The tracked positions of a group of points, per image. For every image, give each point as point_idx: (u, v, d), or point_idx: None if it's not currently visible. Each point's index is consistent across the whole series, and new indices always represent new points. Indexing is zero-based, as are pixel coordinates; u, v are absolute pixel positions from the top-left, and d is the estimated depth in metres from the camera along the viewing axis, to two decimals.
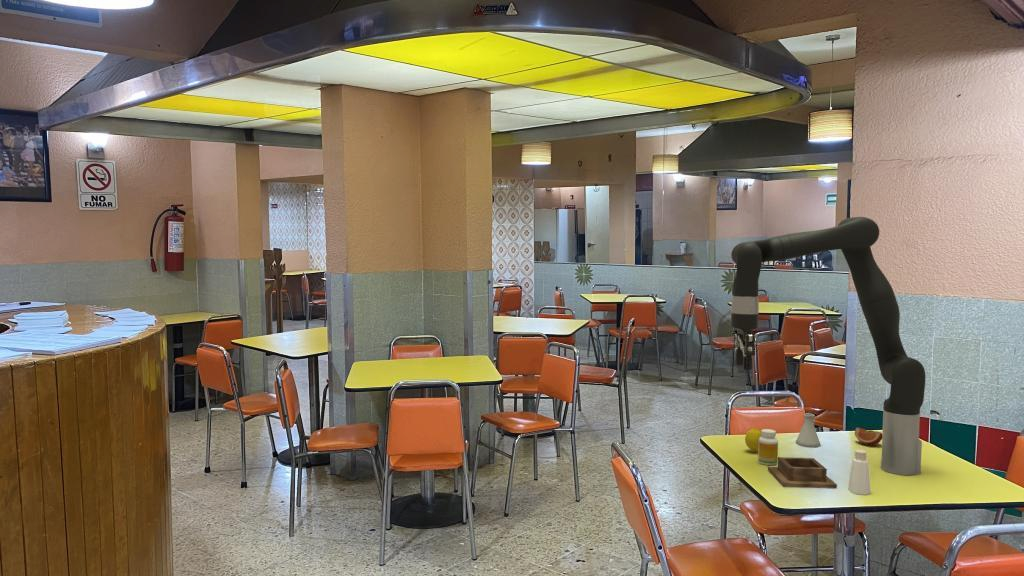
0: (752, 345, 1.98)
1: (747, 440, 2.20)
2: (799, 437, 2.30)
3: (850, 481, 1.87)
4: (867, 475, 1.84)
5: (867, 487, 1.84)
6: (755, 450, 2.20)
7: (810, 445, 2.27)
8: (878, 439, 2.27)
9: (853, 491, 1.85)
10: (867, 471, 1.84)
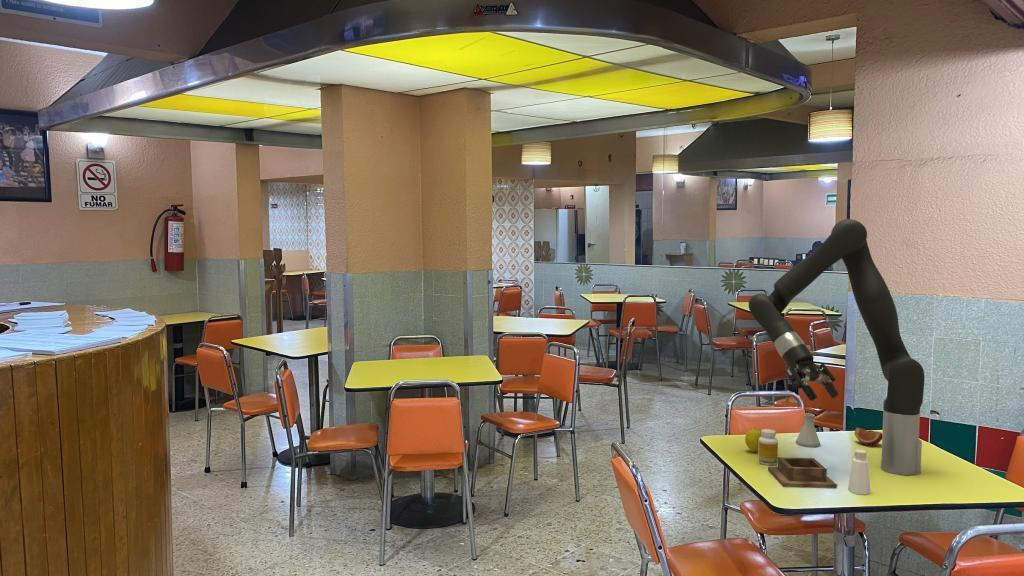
0: (793, 376, 1.96)
1: (747, 440, 2.20)
2: (799, 437, 2.30)
3: (850, 481, 1.87)
4: (867, 475, 1.84)
5: (867, 487, 1.84)
6: (755, 450, 2.20)
7: (810, 445, 2.27)
8: (878, 439, 2.27)
9: (853, 491, 1.85)
10: (867, 471, 1.84)
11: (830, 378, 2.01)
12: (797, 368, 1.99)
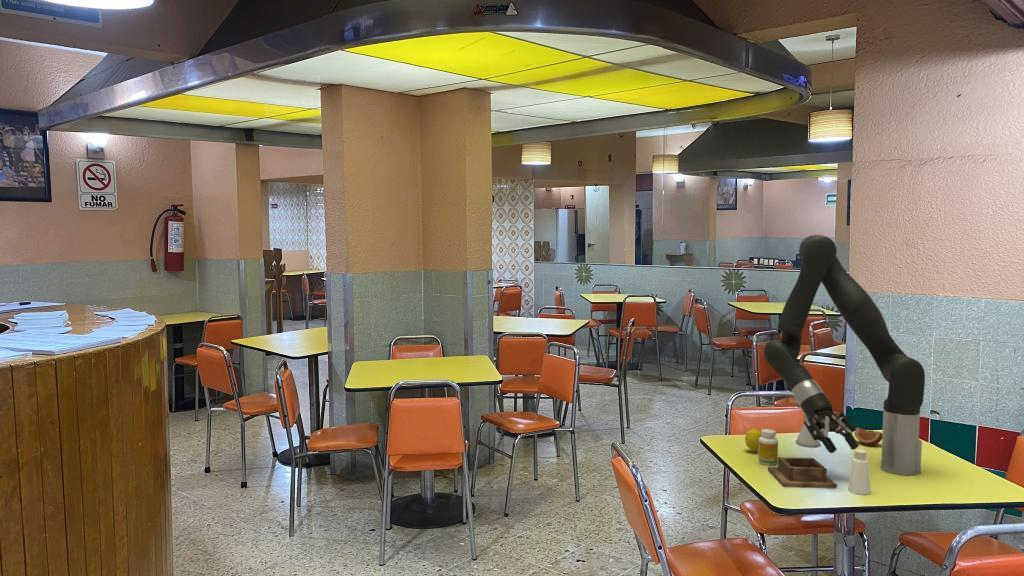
0: (812, 427, 1.91)
1: (747, 440, 2.20)
2: (799, 437, 2.30)
3: (850, 481, 1.87)
4: (867, 475, 1.84)
5: (867, 487, 1.84)
6: (755, 450, 2.20)
7: (810, 445, 2.27)
8: (878, 439, 2.27)
9: (853, 491, 1.85)
10: (867, 471, 1.84)
11: (850, 428, 1.95)
12: (816, 418, 1.93)
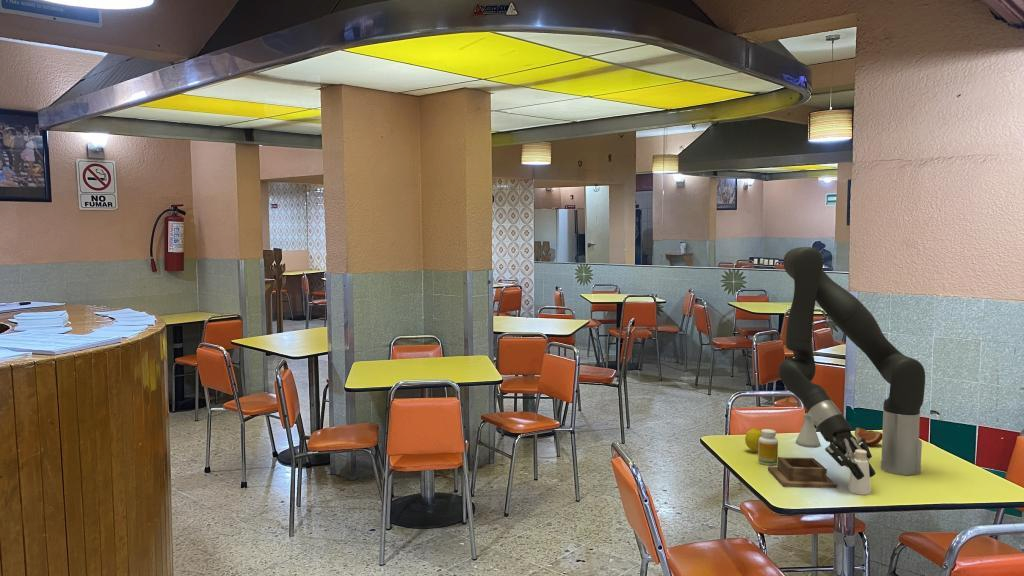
0: (837, 455, 1.86)
1: (747, 440, 2.20)
2: (799, 437, 2.30)
3: (850, 481, 1.87)
4: (867, 475, 1.84)
5: (867, 487, 1.84)
6: (755, 450, 2.20)
7: (810, 445, 2.27)
8: (878, 439, 2.27)
9: (853, 491, 1.85)
10: (867, 471, 1.84)
11: (866, 454, 1.89)
12: (835, 442, 1.88)
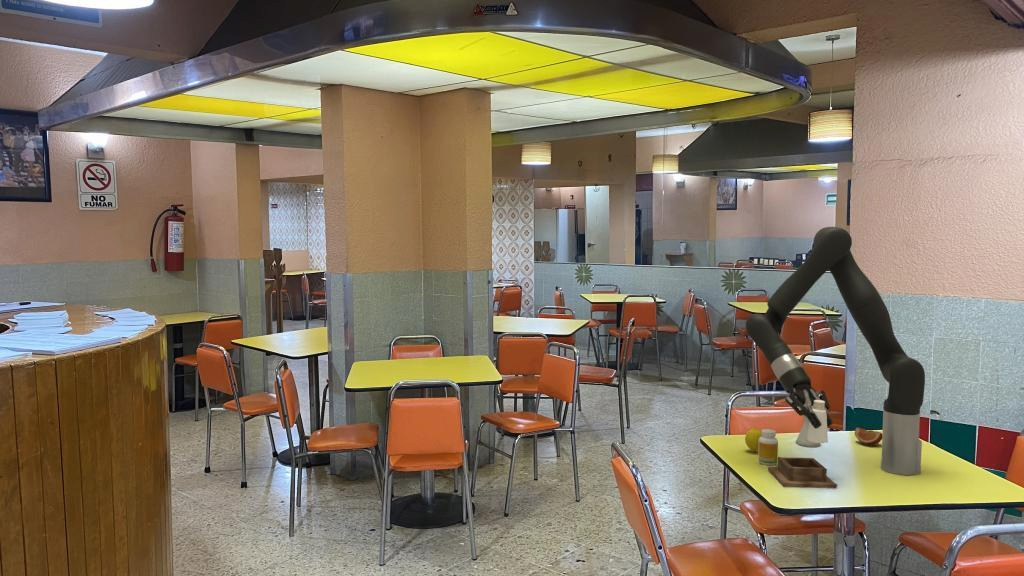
0: (796, 404, 1.92)
1: (747, 440, 2.20)
2: (799, 437, 2.30)
3: (808, 430, 1.93)
4: (825, 424, 1.91)
5: (824, 436, 1.90)
6: (755, 450, 2.20)
7: (810, 445, 2.27)
8: (878, 439, 2.27)
9: (811, 440, 1.91)
10: (825, 420, 1.91)
11: None
12: (795, 393, 1.94)
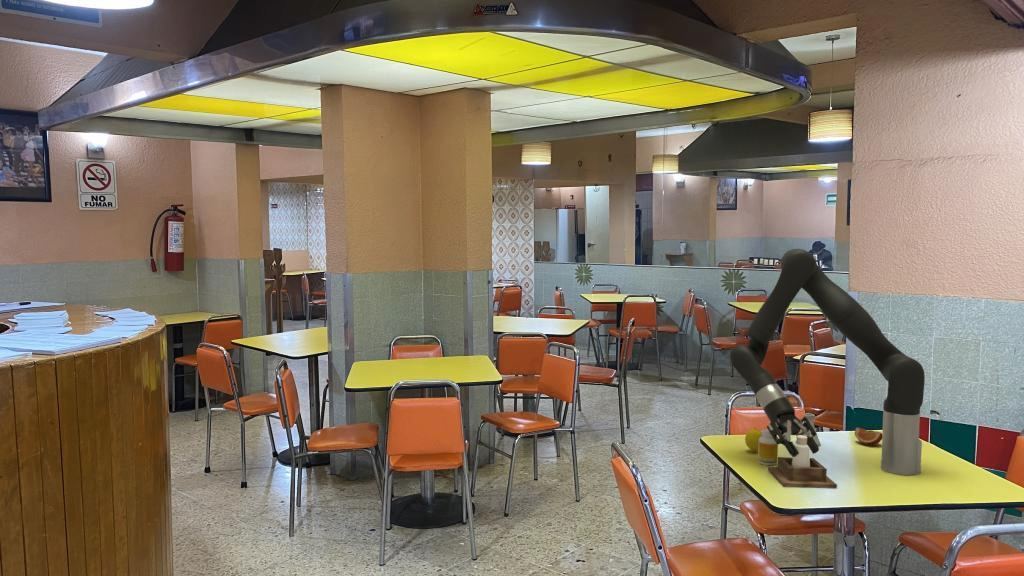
0: (775, 432, 1.95)
1: (747, 440, 2.20)
2: None
3: (792, 465, 1.96)
4: (807, 459, 1.94)
5: None
6: (755, 450, 2.20)
7: None
8: (878, 439, 2.27)
9: None
10: (807, 455, 1.94)
11: (811, 432, 1.99)
12: (778, 422, 1.98)
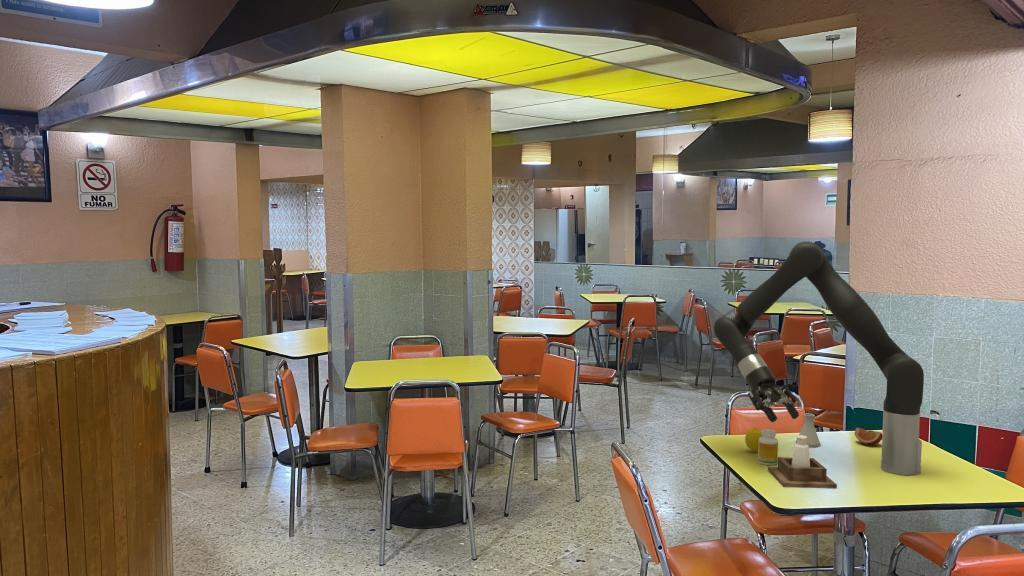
0: (755, 398, 2.02)
1: (747, 440, 2.20)
2: None
3: (792, 465, 1.96)
4: (807, 459, 1.94)
5: None
6: (755, 450, 2.20)
7: (810, 445, 2.27)
8: (878, 439, 2.27)
9: None
10: (807, 456, 1.94)
11: None
12: (759, 390, 2.05)
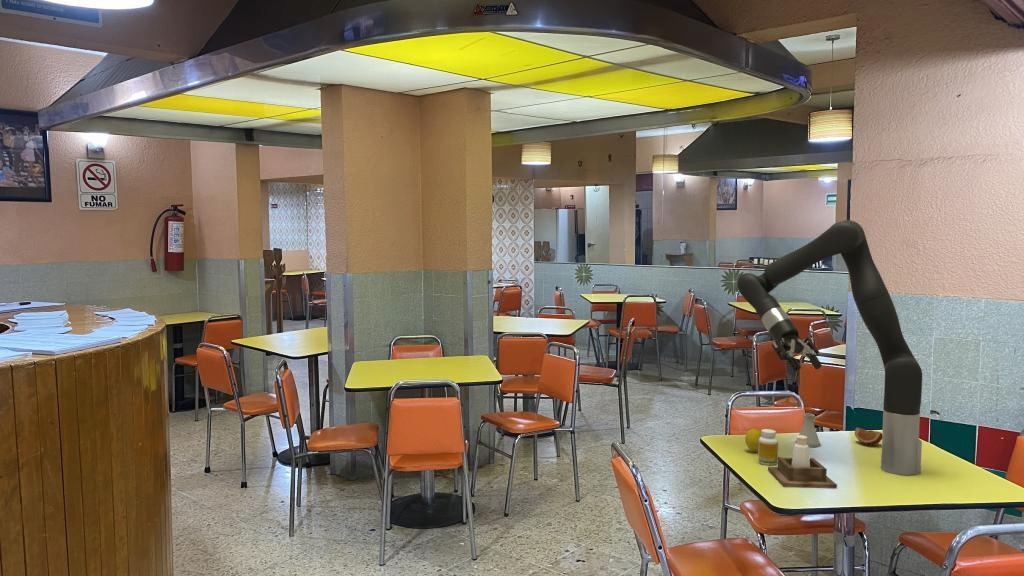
0: (779, 349, 2.08)
1: (747, 440, 2.20)
2: None
3: (792, 465, 1.96)
4: (807, 459, 1.94)
5: None
6: (755, 450, 2.20)
7: (810, 445, 2.27)
8: (878, 439, 2.27)
9: None
10: (807, 456, 1.94)
11: (814, 351, 2.12)
12: (783, 341, 2.10)
